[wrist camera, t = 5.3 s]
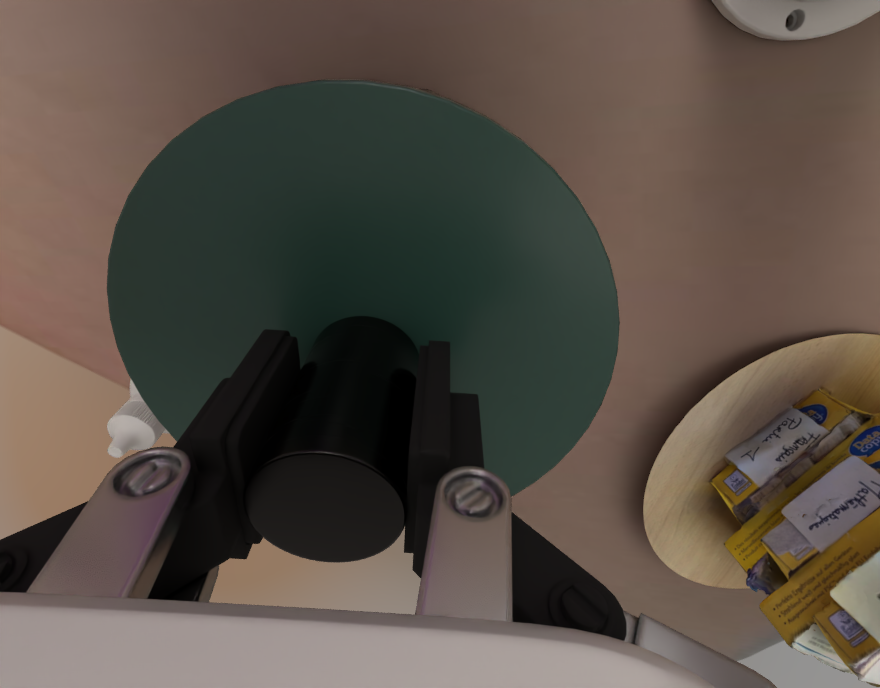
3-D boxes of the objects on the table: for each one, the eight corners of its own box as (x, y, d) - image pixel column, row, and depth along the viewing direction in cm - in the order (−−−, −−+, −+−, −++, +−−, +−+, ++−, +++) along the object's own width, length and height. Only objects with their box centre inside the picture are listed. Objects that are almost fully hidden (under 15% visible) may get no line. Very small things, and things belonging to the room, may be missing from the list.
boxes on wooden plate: (898, 262, 31) (1306, 434, 16) (983, 473, 40) (1289, 703, 25) (574, 448, 39) (651, 672, 24) (707, 587, 48) (820, 809, 34)
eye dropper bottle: (171, 344, 34) (52, 464, 24) (204, 287, 32) (87, 393, 21) (227, 375, 35) (137, 502, 25) (262, 323, 33) (180, 439, 23)
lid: (61, 54, 10) (-349, 44, 5) (672, 102, 11) (897, 141, 5) (188, 488, 17) (71, 677, 12) (556, 510, 18) (602, 705, 12)
